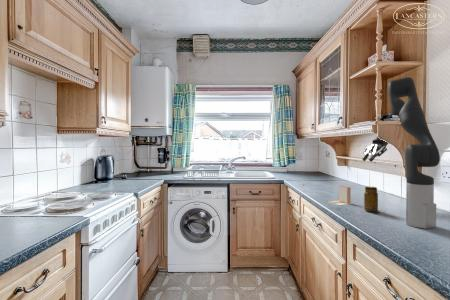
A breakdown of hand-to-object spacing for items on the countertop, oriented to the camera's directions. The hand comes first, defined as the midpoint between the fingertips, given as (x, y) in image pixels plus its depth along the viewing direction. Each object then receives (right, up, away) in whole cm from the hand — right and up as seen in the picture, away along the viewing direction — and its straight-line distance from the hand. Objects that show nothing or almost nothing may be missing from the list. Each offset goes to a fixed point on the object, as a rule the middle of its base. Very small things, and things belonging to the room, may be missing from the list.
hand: (366, 160), depth 155 cm
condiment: (-7, -25, -19) cm, 32 cm away
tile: (-12, -24, 0) cm, 27 cm away
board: (-15, -24, -1) cm, 29 cm away
